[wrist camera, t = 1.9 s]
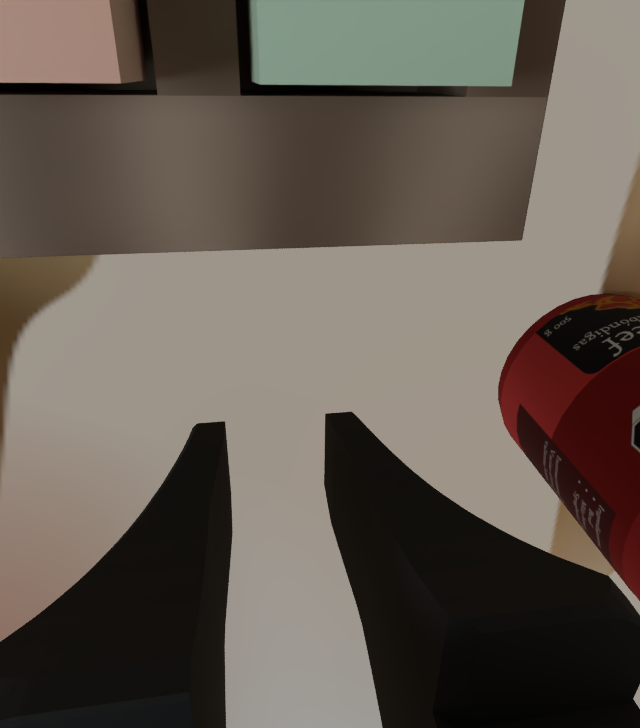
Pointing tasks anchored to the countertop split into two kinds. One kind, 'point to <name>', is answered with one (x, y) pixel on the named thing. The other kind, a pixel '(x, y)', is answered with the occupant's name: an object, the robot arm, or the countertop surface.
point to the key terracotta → (71, 41)
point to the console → (265, 150)
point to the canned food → (584, 417)
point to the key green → (384, 42)
